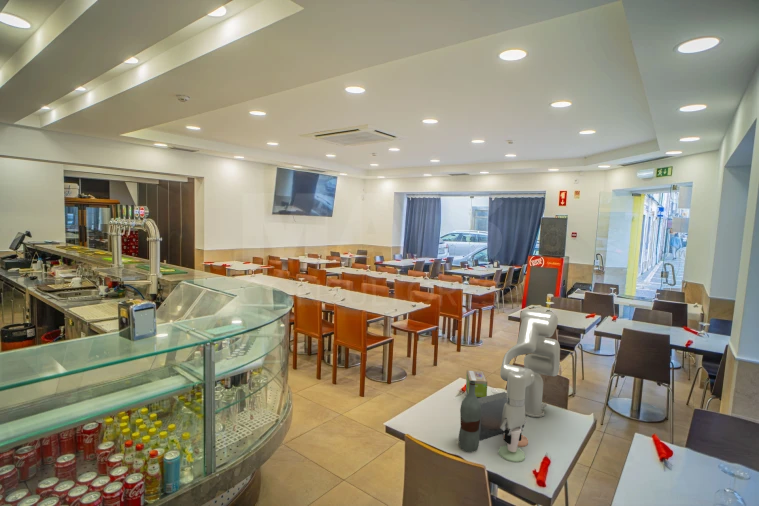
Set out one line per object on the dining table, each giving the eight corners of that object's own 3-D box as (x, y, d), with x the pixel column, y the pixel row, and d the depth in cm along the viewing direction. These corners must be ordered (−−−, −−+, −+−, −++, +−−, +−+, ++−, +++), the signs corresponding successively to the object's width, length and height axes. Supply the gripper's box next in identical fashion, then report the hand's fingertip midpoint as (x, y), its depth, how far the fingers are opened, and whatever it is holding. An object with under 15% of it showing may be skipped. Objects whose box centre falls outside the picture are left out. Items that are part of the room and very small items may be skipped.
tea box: (465, 394, 235) (466, 369, 234) (482, 395, 234) (483, 370, 233) (468, 405, 220) (469, 379, 219) (486, 407, 219) (488, 380, 218)
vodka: (455, 441, 183) (459, 377, 181) (475, 441, 184) (479, 377, 181) (461, 452, 174) (465, 385, 171) (481, 452, 174) (486, 386, 172)
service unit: (502, 424, 201) (504, 390, 200) (512, 430, 195) (515, 396, 193) (468, 433, 190) (471, 398, 189) (479, 441, 184) (481, 404, 183)
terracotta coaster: (514, 432, 193) (514, 430, 193) (533, 443, 184) (533, 441, 184) (498, 437, 188) (498, 435, 188) (516, 449, 178) (516, 447, 178)
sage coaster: (510, 445, 181) (510, 443, 181) (530, 458, 172) (530, 455, 172) (493, 451, 176) (493, 449, 176) (512, 464, 166) (512, 462, 166)
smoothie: (502, 445, 177) (504, 415, 176) (516, 445, 177) (518, 415, 176) (508, 453, 170) (510, 422, 169) (522, 453, 171) (524, 422, 170)
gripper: (522, 393, 180) (519, 432, 181) (494, 401, 171) (491, 441, 172) (535, 400, 173) (533, 440, 174) (507, 408, 165) (505, 450, 166)
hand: (512, 440), depth 173 cm, fingers closed on smoothie, 5 cm apart
